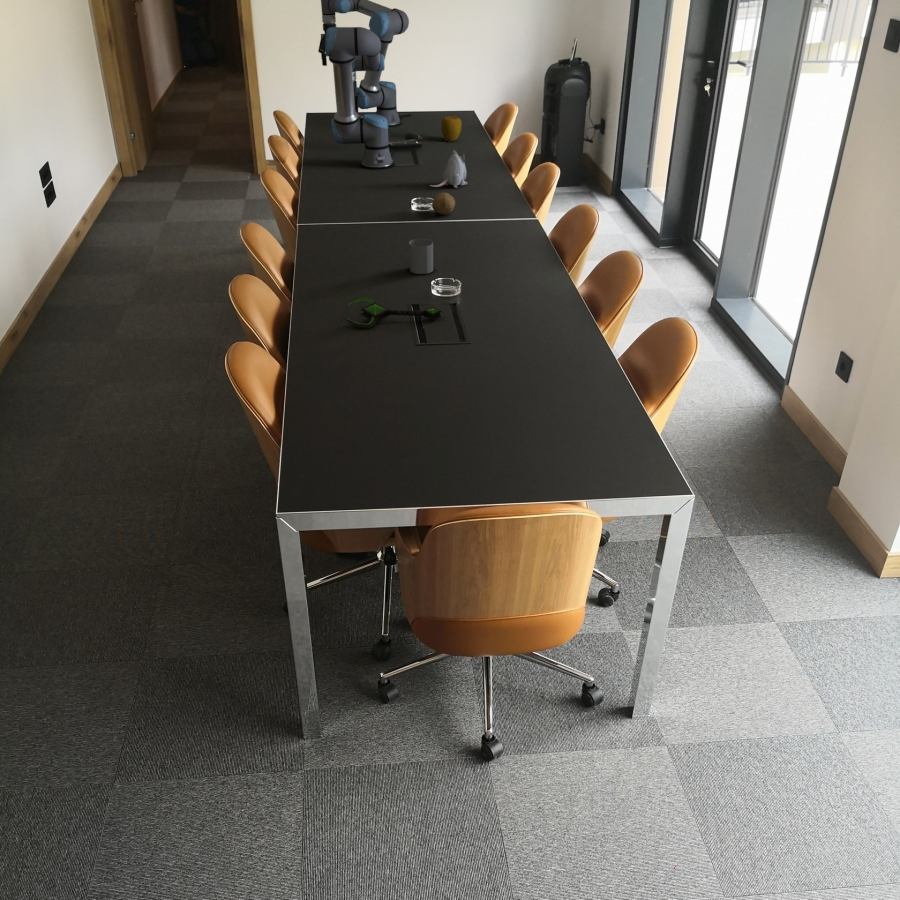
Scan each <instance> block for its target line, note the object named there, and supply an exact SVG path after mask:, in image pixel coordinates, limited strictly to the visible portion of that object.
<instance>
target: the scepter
mask: <svg viewBox="0 0 900 900" xmlns="http://www.w3.org/2000/svg"><path fill="white" fill-rule="evenodd" d="M365 301H366V302H369V303H370V304H368V305H366V306H364V307H362V308H360V311H362V313H360V316H363V317H365V318H366V319H368V320H370V321H369V322H368V323H360V322H357V321H354V320H352V319H349V318H345V319H344V320H345V321H347V323H350V324H352V325H353V326H355V327H357V328H366V329H368V328H372V327H374V325H376V323H377V322H379V321H381V320H383V319H385V318H387V317H389V316H411V317H414V316H416V317H421V316H422V317H423V318H424V317H425V318H427V319H428V320H431V321H434V320H437V319H438V318H442V314H441V313H442V312H443V310H440V309H439V308H437V307H434V306H432V307H428V308H426V309H424V310H411V309H409V310H407V309H404V310H403V309H402V310H401V309H391V308H390V309H389V308H388V307H386V306H383V304H380V303H378V302H377V301H376V299H375V298H374V297H371V296H360V297H356V298H354V299H352V300H350V301H349V302H347V303H346V305H347V306H349V305H352V304H354V303H357V302H365Z"/></svg>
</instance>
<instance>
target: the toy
mask: <svg viewBox="0 0 900 900" xmlns="http://www.w3.org/2000/svg"><path fill="white" fill-rule="evenodd" d="M466 178H467V168H466V156H465V153H463V154H462V155H459V154H458V153H457V151H456V150H455V149H453V150H452V153H451V155H450V156H449V158H448V161H447V163H446V166H445V170H444V171H443V177H442V179H443V181H442V182H441V183H439V184H436V185H435V184H433V185H432V184H430V185H428V186H429V187H434V188H440V187H443V186H446V187H448V186H449V185H451V186H453V188H455V189H459V187H458V186H461V187H462V186H467V185H468V182H467V181H465V180H466Z"/></svg>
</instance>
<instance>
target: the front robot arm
mask: <svg viewBox="0 0 900 900" xmlns="http://www.w3.org/2000/svg"><path fill="white" fill-rule="evenodd" d="M369 29H370V28H367V27H362V26H336V27H332V28H328V29H327V31H326V46H325V55H326V58H328V60H329V62H330V63H331V64H332V71H333V81H334V82H333V83H334V94H335V105H336V106H335V107H336V112H335V113H334V115H333V118H331V121H330V122H331V130H332V135H333V140H334V141H335V143H337V144H341V145H348V144H349V145H352V144H353V145H355V144H356V145H357V144H364V151H363V155H362V159H361V166H362V167H363V168H366V169H371V170H381V169H387V168H390V167H392V166H394V161H393V158H392V155H393V152H394V151H392V150H391V149H390V147H389V145H390V144H389V127H388V123H387V119H386V118H385V117H383V116H380V115H376V113H365V114H363V115H362V116H363V118H359V117H358V115H359V107H358V105H359V93H357V92H356V90H355V89H356V88H357V87H358V82H357V72H366V71H382V72H383V71H385V69H386V68H385V61H384V55H382V54H380V50H381V41H380V39H379V37H378V36H377V35H376V34H375V33H374V32H372V31H371V30H369Z"/></svg>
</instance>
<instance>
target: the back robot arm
mask: <svg viewBox="0 0 900 900" xmlns="http://www.w3.org/2000/svg"><path fill="white" fill-rule="evenodd" d="M320 6H321V22H322V31H323V32H324V33H320V39H319V45H318V50H317V52H318V53H319V54H320V55H321V57H320V58H321V64H322V66H324V67H327V66H328V62H327V56H326V55H325V46H326V31H327V29H328V28H332V27H337V24H336V22H337V19H336V18H337V17H336V14H341V15H342V14H348V13H354V12H357V13H360V14H363V15H366V16H367V17H370V18H369V21H368V29H369V30H371V31H372V32H374V33H375V34H376V35H377V36H378V37H379V39H380V41H381V50H380V54H382V55H384V62H386V61H385V60H386V56H387V53H388V48H389V45H391V44H392V43H393V40H394V37H395V36H398V35H401V34H405V32H406V31H407V30H408V28H409V26H410V25H409V24H410V20H409V19H410V18H409V16H408V14H407V13H406V12H405V11H403V10H401V9H399V8H397V7H396V8H390V7H387V6H385V5H382V4H379V3H377V2H375V1H372V0H320ZM364 72H365V73H364V77H363V79H361V80H360V81H359V87H358V86H357V88H356V89H355V90H356V92H357V93H359V105H358V109H360V110H368V109H373V108H376V111H375V114H376V115H380V116H383V117H385V118H386V119H387V123H388V128H389V127H396V126H399V125H401V118H403V117H411V116H412V114H411V113H408V114H401V115H399V113H398V109H397V108H398V107H397V105H398V104H397V85H396V83H395V82H393V81H386V80H385V81H384V80H381V76H382V72H383V71H364Z"/></svg>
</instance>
